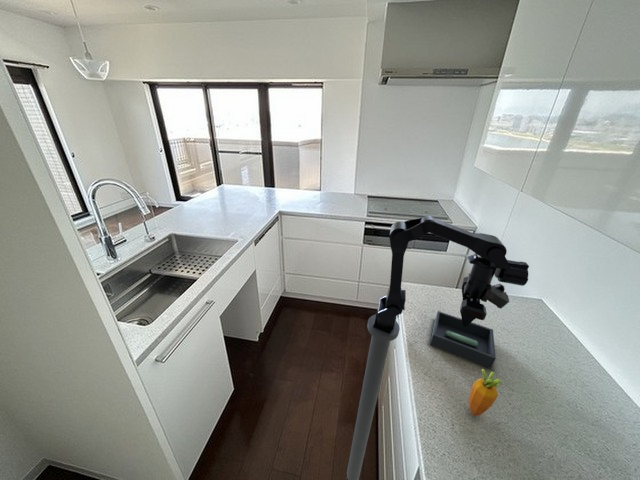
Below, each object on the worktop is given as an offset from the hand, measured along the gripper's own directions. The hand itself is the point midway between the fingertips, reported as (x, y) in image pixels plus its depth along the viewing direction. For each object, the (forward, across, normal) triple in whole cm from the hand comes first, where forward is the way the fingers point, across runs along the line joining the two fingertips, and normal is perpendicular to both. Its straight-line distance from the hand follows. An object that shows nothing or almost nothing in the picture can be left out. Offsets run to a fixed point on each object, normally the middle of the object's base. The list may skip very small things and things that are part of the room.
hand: (465, 317), depth 83 cm
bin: (+10, 0, -1) cm, 11 cm away
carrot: (+11, -25, -5) cm, 28 cm away
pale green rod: (+10, 0, -1) cm, 10 cm away
